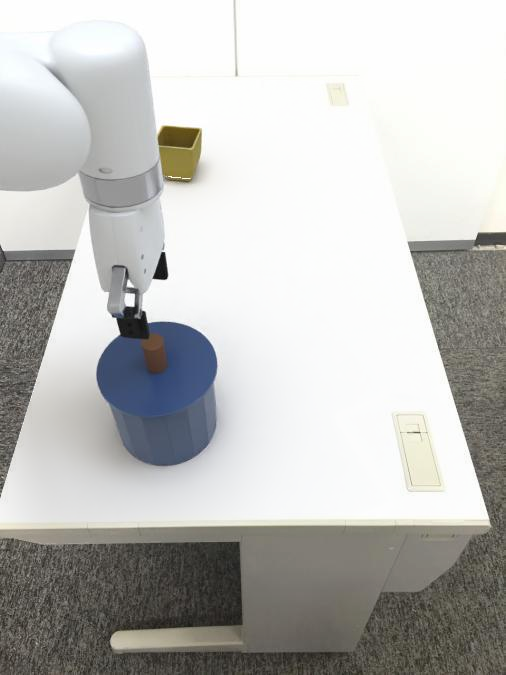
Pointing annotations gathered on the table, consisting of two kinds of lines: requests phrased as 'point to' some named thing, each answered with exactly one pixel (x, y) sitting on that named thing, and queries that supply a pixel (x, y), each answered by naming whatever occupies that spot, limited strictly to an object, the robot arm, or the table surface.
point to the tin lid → (157, 371)
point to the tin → (169, 433)
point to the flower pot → (179, 151)
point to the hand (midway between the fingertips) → (146, 305)
